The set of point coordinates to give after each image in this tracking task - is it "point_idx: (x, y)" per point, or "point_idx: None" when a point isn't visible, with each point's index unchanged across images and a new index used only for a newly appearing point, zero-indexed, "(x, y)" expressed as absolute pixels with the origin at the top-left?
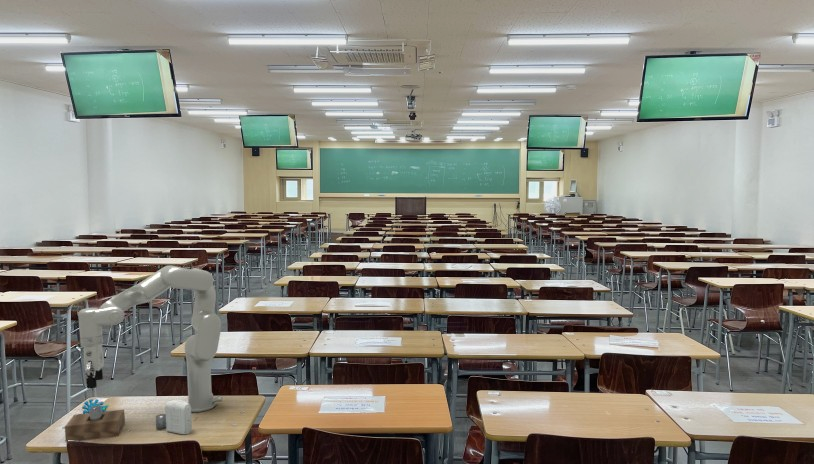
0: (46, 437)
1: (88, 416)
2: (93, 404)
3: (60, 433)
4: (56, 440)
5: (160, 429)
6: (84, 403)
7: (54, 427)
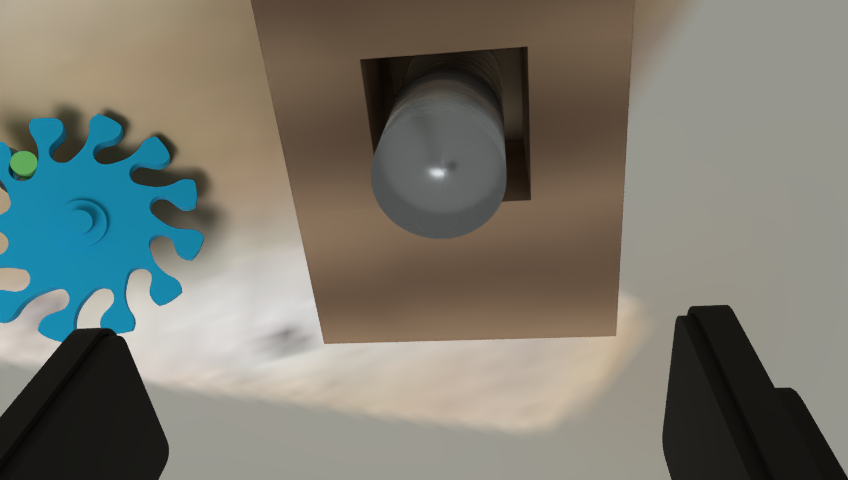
0: (457, 394)
1: None
2: (40, 264)
3: None
4: None
5: None
6: None
7: (284, 398)
